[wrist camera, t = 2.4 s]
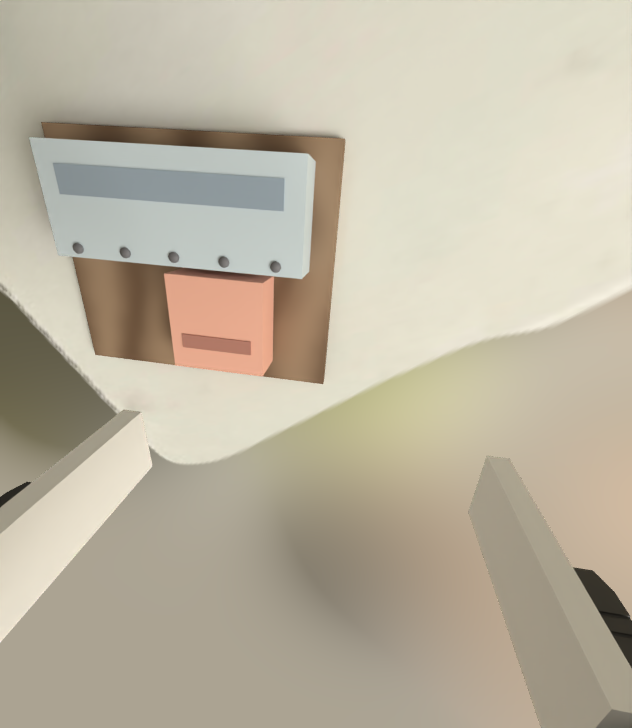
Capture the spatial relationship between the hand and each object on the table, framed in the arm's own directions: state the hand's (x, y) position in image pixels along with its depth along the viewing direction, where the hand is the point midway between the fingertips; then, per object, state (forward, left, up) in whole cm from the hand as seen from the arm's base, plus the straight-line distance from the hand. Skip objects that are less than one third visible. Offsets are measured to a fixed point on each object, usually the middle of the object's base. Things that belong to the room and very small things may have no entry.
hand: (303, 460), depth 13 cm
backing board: (-13, +4, -19) cm, 23 cm away
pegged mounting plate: (-13, +8, -19) cm, 24 cm away
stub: (-10, -1, -18) cm, 21 cm away
